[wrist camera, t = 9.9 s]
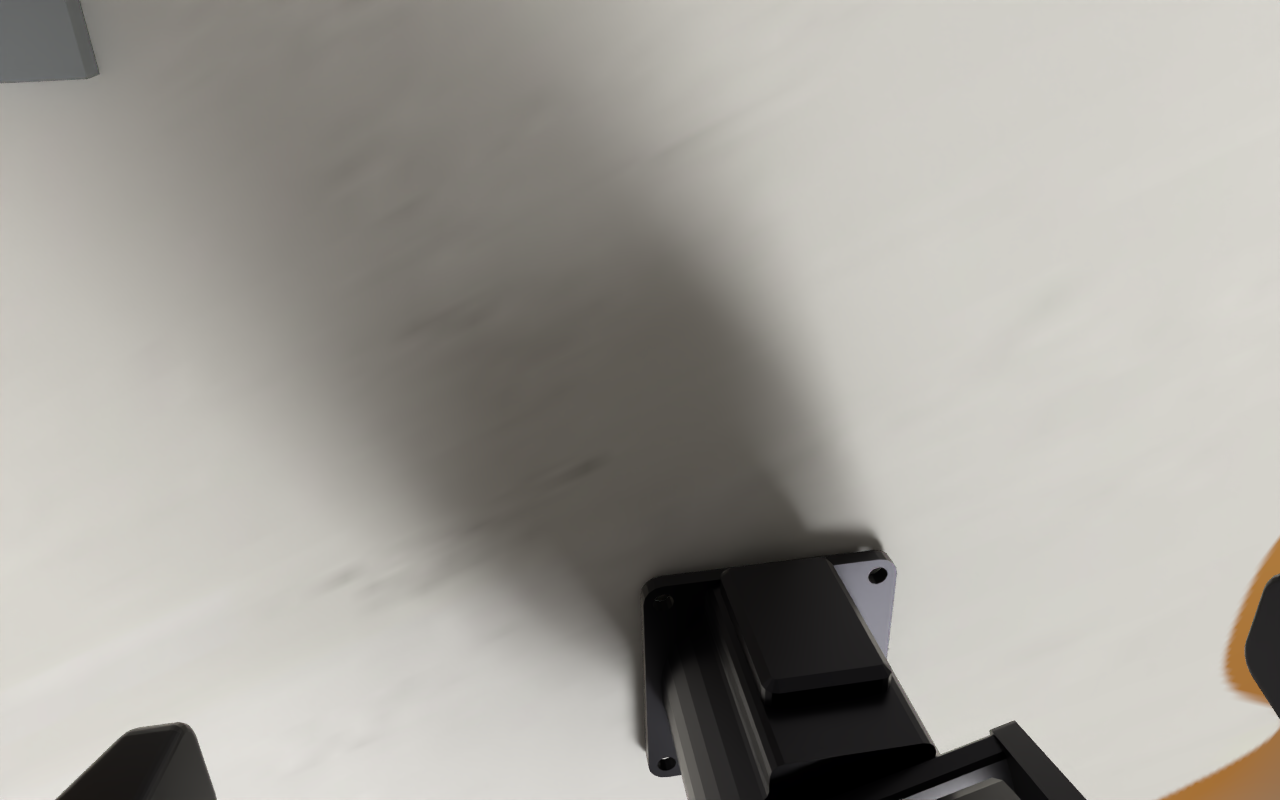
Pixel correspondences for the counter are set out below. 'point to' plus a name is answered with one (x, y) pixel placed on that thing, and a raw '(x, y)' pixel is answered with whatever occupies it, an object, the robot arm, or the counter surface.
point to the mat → (44, 41)
